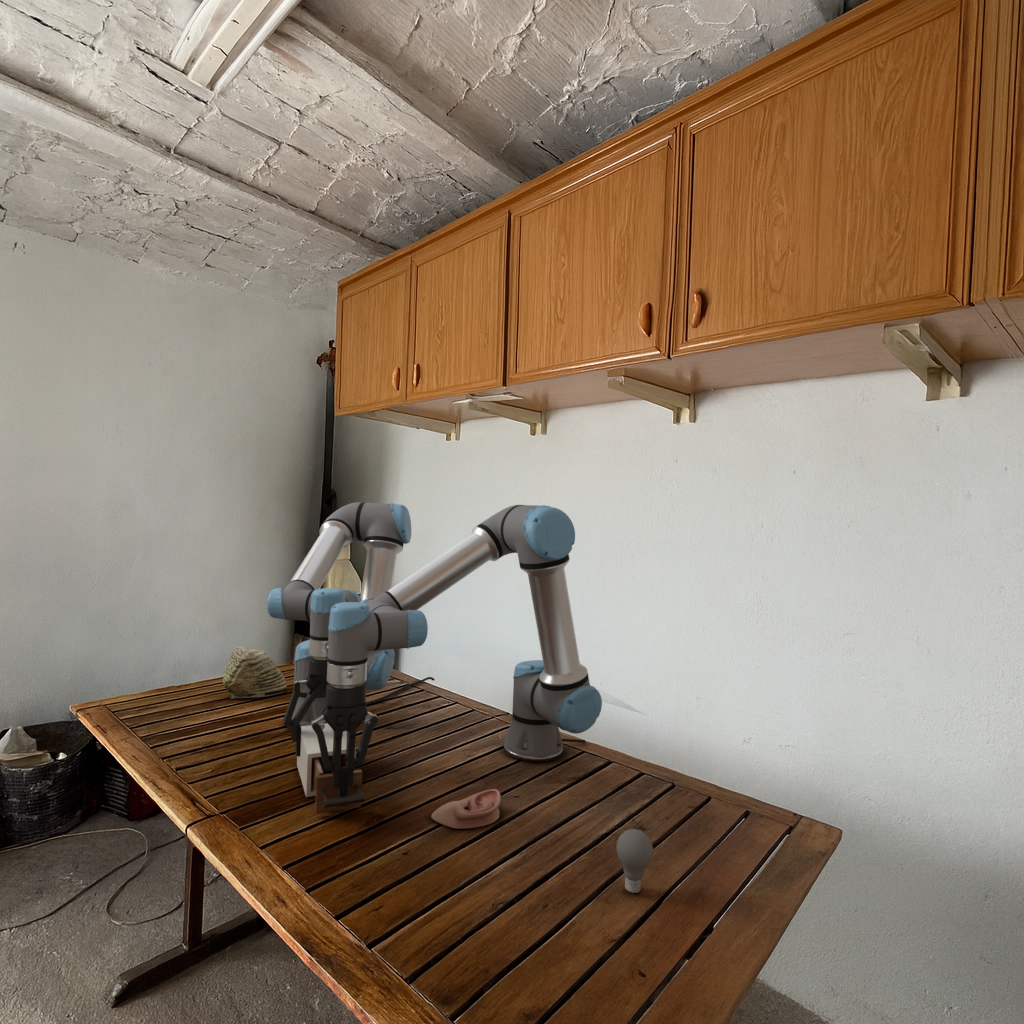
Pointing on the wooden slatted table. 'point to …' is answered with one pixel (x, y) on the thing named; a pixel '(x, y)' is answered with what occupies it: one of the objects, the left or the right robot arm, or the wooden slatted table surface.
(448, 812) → the anatomical model
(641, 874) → the light bulb
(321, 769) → the drawer
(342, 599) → the left robot arm
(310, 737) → the cabinet
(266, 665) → the fossil
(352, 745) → the right robot arm
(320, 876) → the wooden slatted table surface
